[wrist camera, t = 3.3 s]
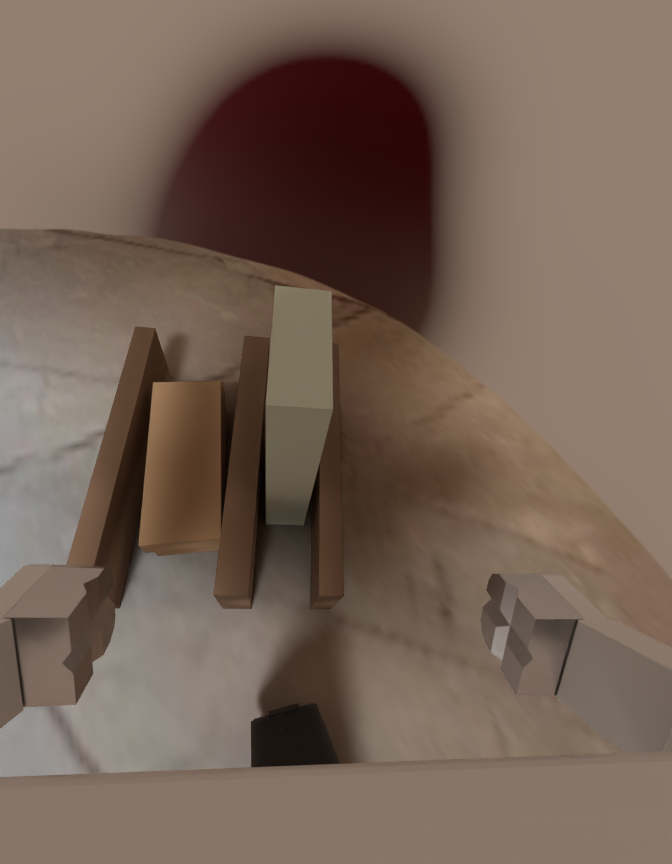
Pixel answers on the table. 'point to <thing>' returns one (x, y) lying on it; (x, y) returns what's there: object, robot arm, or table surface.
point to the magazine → (291, 738)
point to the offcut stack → (185, 469)
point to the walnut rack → (124, 482)
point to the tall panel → (297, 400)
